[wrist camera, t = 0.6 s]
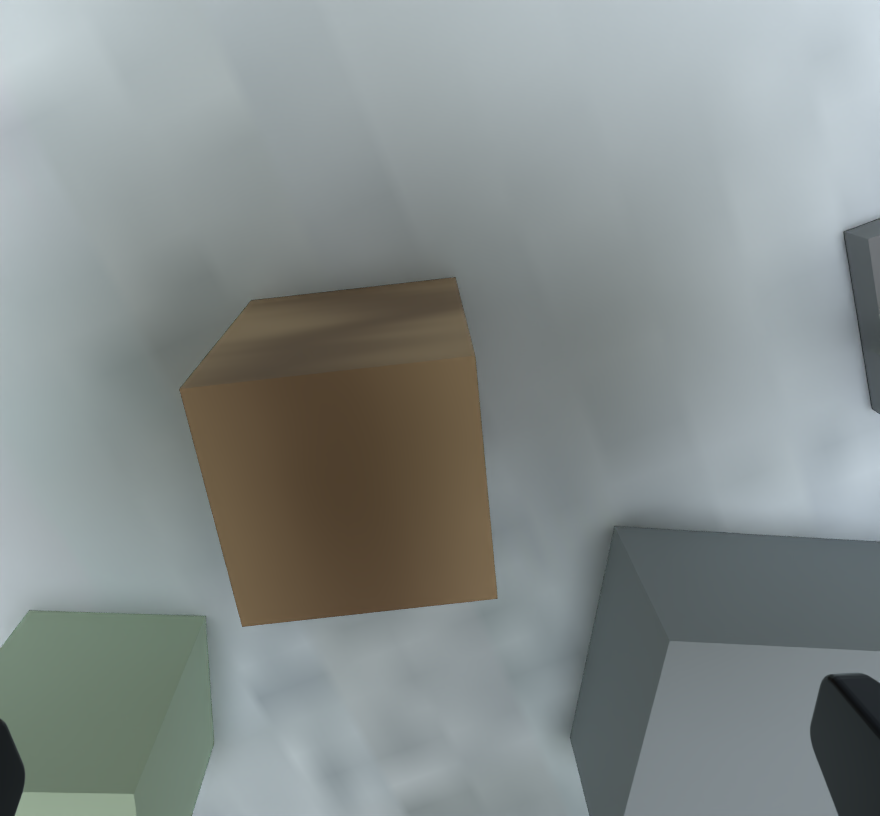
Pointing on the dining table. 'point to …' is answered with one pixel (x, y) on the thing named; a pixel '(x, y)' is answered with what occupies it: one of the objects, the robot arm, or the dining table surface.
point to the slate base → (719, 670)
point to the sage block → (108, 712)
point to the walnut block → (346, 453)
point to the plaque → (867, 297)
